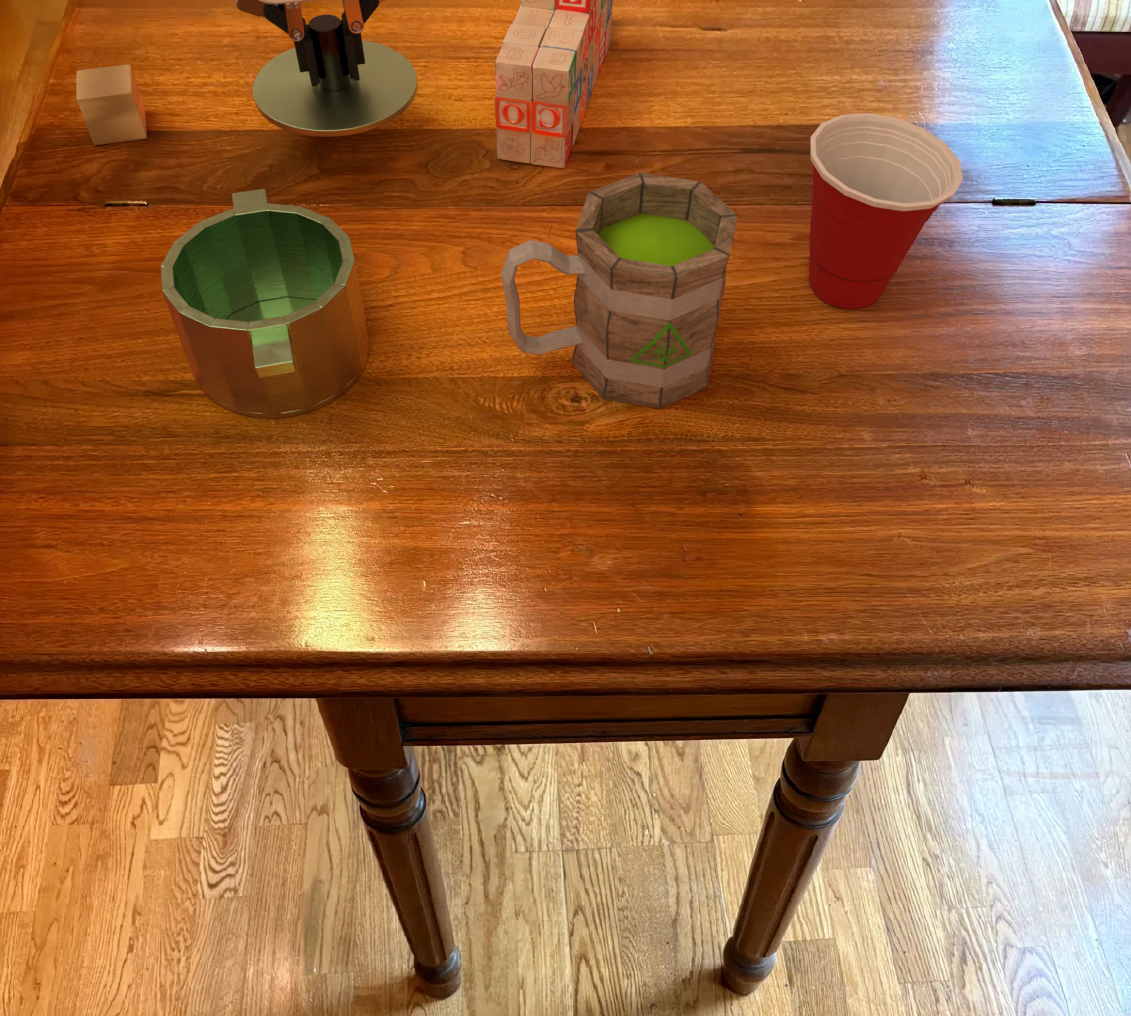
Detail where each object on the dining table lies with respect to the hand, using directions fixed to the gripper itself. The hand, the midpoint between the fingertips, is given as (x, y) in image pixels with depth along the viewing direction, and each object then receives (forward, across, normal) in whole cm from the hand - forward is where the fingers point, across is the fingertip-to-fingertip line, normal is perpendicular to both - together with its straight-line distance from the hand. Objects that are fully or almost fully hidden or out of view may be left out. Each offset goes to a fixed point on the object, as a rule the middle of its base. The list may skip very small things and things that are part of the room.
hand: (333, 72), depth 89 cm
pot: (+7, +8, +25) cm, 27 cm away
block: (+6, +19, -7) cm, 21 cm away
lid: (+1, 0, 0) cm, 1 cm away
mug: (+7, -15, +31) cm, 35 cm away
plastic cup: (+7, -36, +28) cm, 46 cm away
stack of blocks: (+7, -20, -2) cm, 21 cm away
